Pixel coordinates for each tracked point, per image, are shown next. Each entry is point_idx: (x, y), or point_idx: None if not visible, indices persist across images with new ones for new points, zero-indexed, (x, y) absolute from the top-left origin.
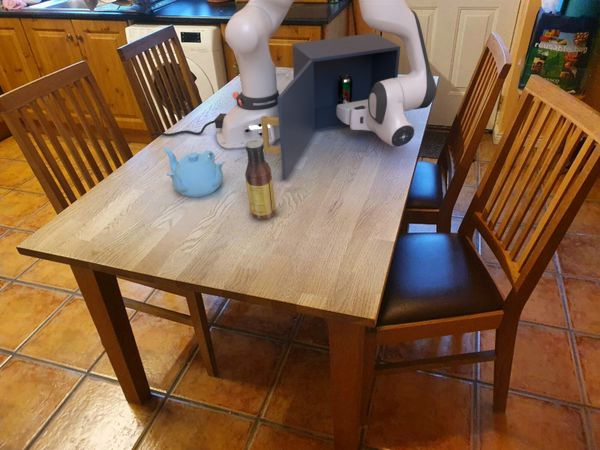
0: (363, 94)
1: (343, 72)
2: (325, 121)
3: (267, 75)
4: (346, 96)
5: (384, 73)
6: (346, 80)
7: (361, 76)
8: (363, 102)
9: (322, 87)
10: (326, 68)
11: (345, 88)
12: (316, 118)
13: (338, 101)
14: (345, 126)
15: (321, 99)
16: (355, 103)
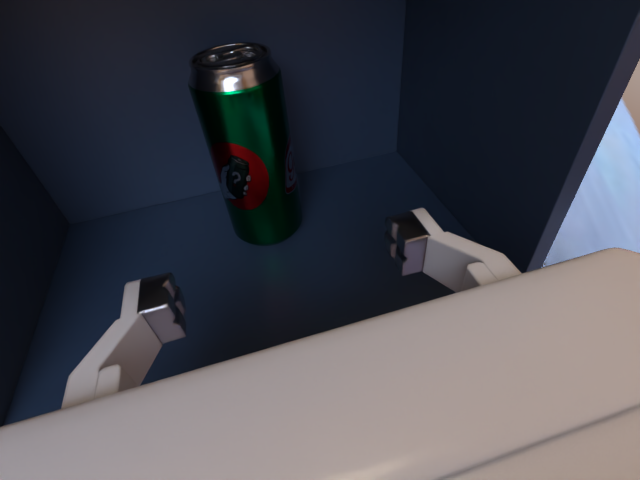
0: (367, 136)
1: (252, 33)
2: None
3: None
4: (251, 177)
5: (492, 23)
6: (227, 81)
7: (354, 54)
8: (266, 433)
9: (154, 117)
10: (138, 9)
11: (232, 133)
12: (101, 295)
13: (223, 196)
14: None
15: (169, 171)
16: (139, 460)
